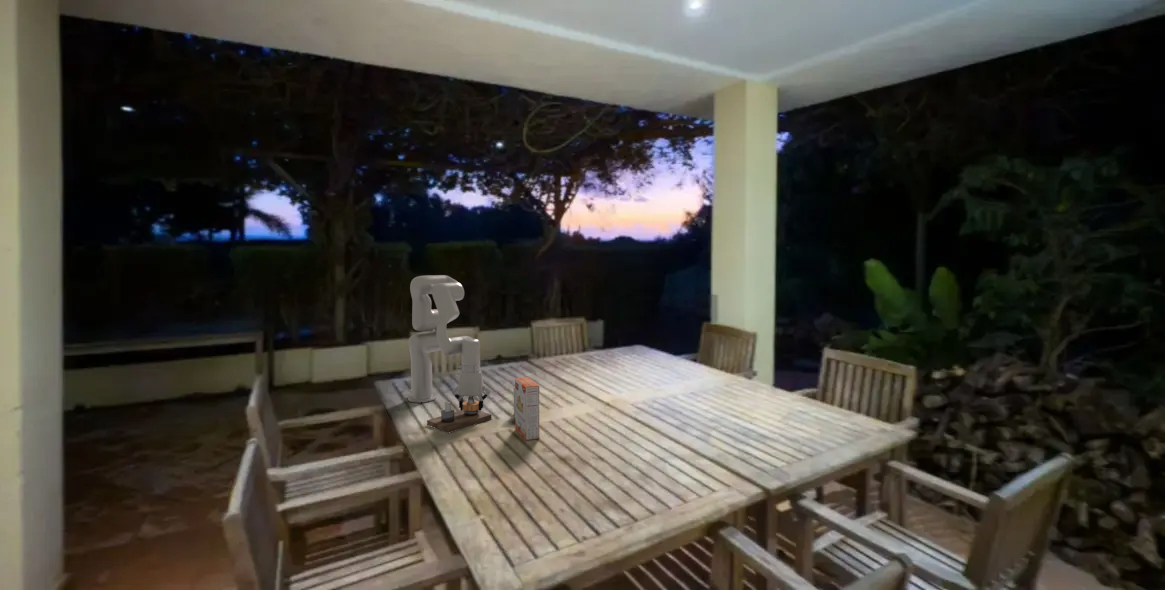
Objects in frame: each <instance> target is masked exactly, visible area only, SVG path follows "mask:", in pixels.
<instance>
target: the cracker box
mask: <svg viewBox="0 0 1165 590" xmlns="http://www.w3.org/2000/svg"><path fill="white" fill-rule="evenodd" d="M514 387H515V416H514V417H515V419H514V420H515V430H516V431H517V432H518V433H519V434H520V436H522V438H523V439H524V441H531V440H538V439H540V385H539V384H537V383H536V382H535V381H534V380H532V379H531V378H530V377H518V378H517V377H516V378H514Z"/></svg>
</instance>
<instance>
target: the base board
mask: <svg viewBox="0 0 1165 590" xmlns="http://www.w3.org/2000/svg"><path fill="white" fill-rule="evenodd" d="M454 420H455V421H454V422H451V423H443V422H441V415H440V416H437V417H434V418H430V419H427V420H426V425H427V426H428V425H429V427H431V426H432V427H431V428H434V427H435V428H434V429H437V430H439V429H440V431H442V430H443V431H442V432H445V433H447V432H448V434H449V432H450V433H452V431H453V432H455V430H456V431H459V430H462V429H465V428H467V427H471V426H474V424H475V425H477V424H480V423H481V424H482V423H484V422H486V421H490V420H492V413H488V412H485V411H482V410H481V411H479V414H478V415H475V416H465V415H464V410H462V411H460V410H458V411H454ZM458 429H459V430H458Z"/></svg>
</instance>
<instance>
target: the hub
mask: <svg viewBox="0 0 1165 590" xmlns="http://www.w3.org/2000/svg"><path fill="white" fill-rule="evenodd" d="M467 401H468V404H474V401H475V396H467ZM478 414H479V410H476V411H464V415H465V416H475V415H478Z"/></svg>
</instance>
